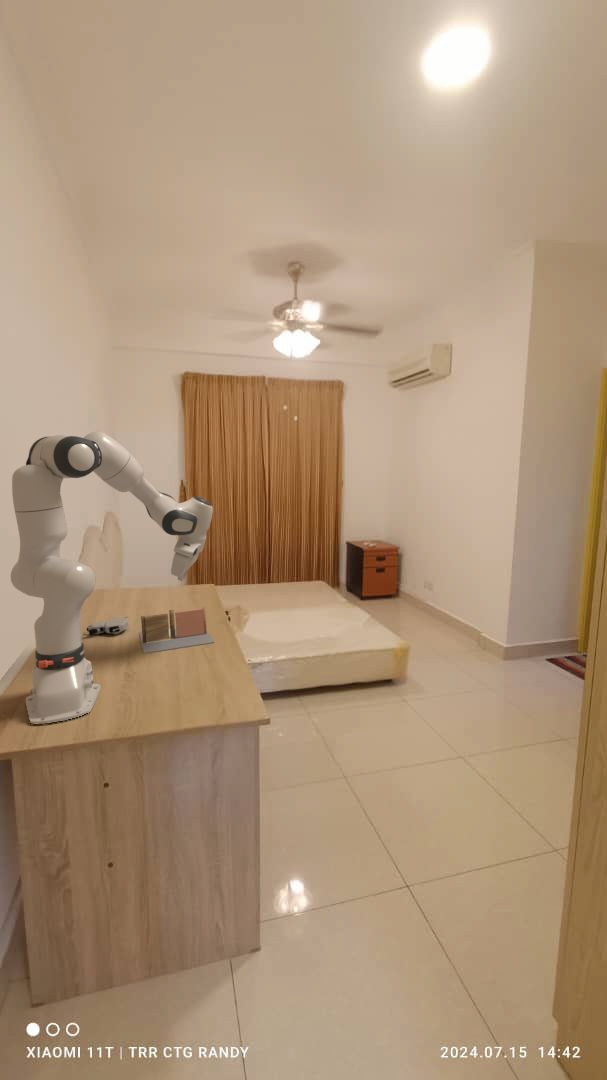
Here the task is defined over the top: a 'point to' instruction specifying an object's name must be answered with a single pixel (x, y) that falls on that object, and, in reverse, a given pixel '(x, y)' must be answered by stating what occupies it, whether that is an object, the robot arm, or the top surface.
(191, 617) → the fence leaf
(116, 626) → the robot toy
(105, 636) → the top surface
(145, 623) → the fence fixed
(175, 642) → the board
